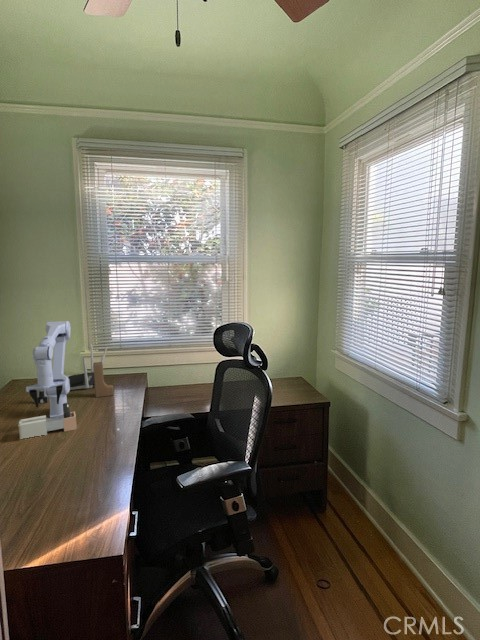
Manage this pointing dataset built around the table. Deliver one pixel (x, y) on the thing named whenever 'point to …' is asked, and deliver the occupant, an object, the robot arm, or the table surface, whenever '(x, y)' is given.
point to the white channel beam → (32, 427)
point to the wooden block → (101, 381)
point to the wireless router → (84, 375)
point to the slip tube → (58, 419)
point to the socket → (70, 422)
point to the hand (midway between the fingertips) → (47, 404)
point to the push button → (42, 396)
